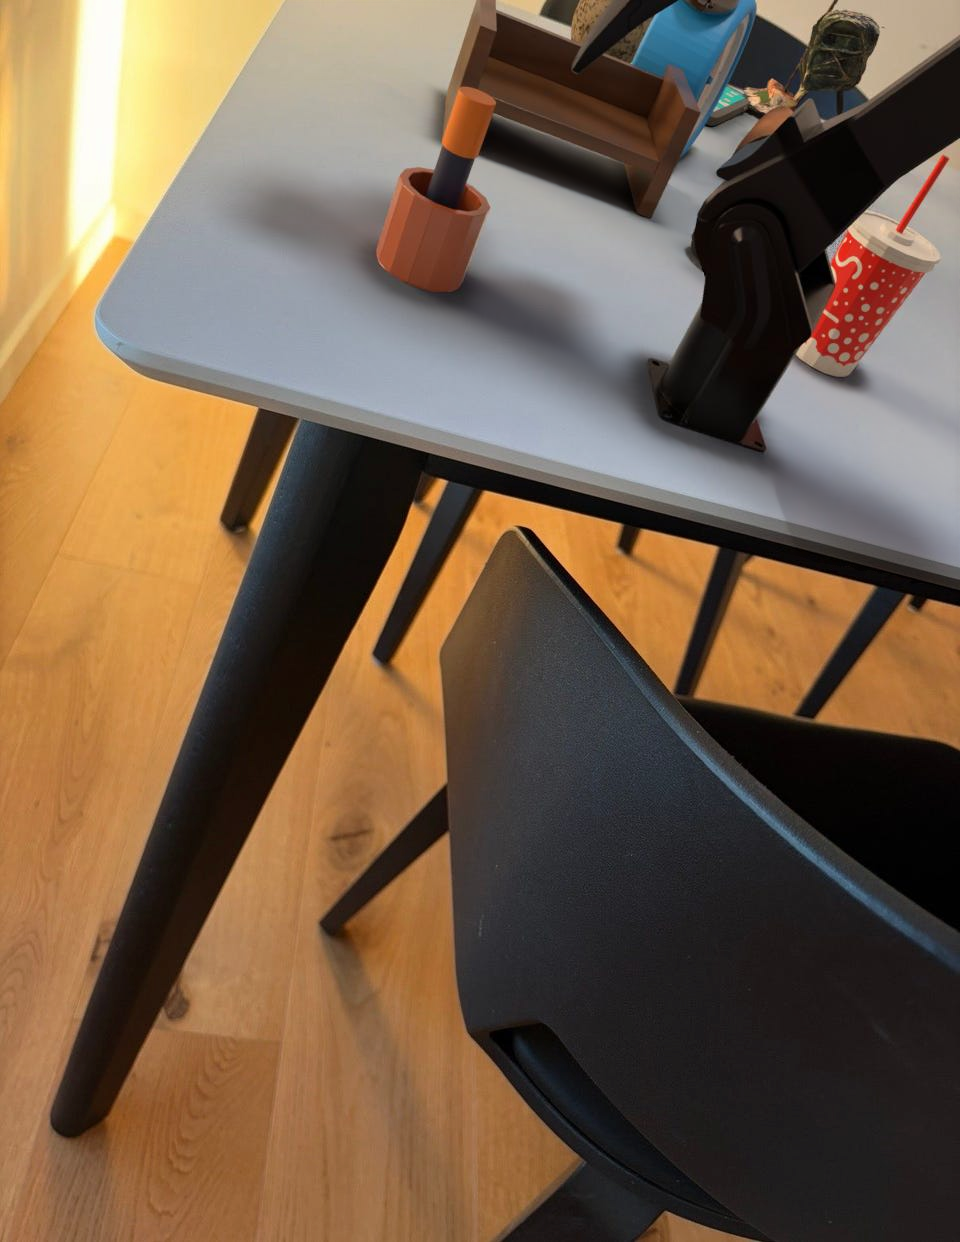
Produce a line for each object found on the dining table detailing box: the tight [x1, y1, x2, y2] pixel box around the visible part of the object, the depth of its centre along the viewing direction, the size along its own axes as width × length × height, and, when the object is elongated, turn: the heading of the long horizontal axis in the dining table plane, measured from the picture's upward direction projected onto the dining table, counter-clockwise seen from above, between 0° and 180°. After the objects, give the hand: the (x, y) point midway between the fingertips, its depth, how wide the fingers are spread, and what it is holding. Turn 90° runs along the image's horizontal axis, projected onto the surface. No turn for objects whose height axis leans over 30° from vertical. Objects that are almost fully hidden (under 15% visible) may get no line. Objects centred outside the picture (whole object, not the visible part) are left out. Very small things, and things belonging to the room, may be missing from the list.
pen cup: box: [375, 166, 491, 293], centre depth 61 cm, size 5×5×5 cm
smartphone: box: [705, 84, 751, 127], centre depth 112 cm, size 9×1×15 cm
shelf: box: [441, 0, 701, 219], centre depth 82 cm, size 10×16×8 cm, turn 90°
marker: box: [426, 87, 496, 210], centre depth 59 cm, size 2×2×10 cm
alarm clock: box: [630, 0, 758, 158], centre depth 91 cm, size 13×6×15 cm, turn 156°
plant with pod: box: [742, 0, 886, 116], centre depth 112 cm, size 8×11×20 cm
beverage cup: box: [795, 154, 950, 378], centre depth 70 cm, size 6×6×14 cm
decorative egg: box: [570, 0, 653, 64], centre depth 103 cm, size 7×7×10 cm
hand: (496, 22), depth 56 cm, fingers open, 9 cm apart
